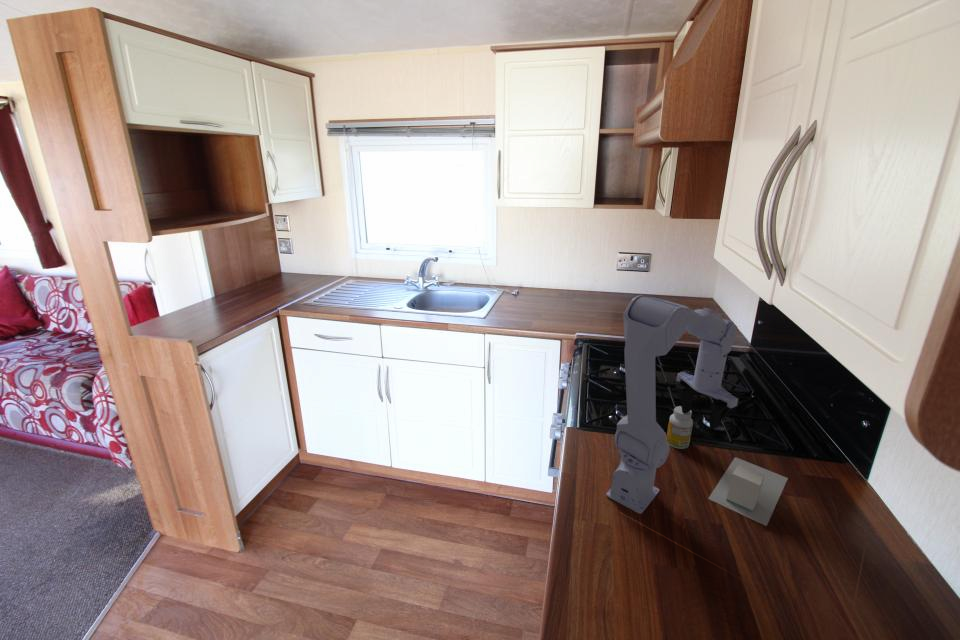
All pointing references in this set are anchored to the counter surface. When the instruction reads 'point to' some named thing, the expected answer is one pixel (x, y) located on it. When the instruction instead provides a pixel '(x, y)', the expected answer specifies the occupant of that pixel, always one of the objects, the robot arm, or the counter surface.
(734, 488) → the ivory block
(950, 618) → the counter surface
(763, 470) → the grey mat
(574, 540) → the counter surface
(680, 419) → the supplement bottle
